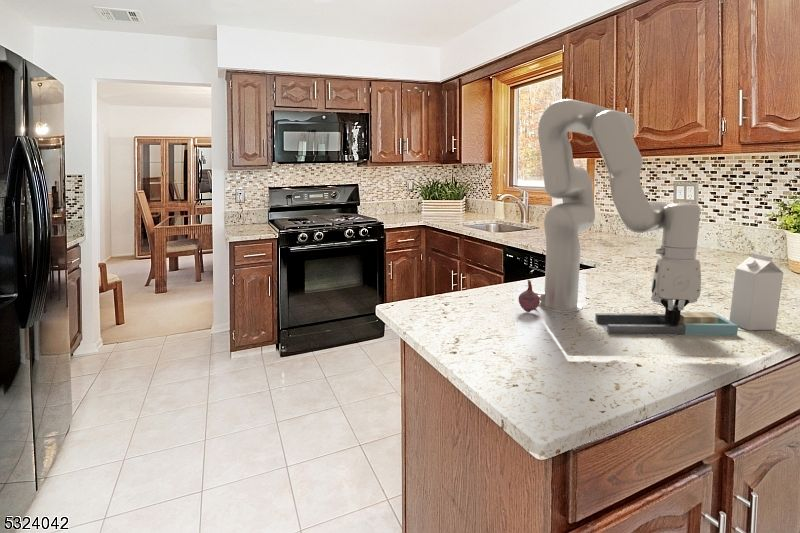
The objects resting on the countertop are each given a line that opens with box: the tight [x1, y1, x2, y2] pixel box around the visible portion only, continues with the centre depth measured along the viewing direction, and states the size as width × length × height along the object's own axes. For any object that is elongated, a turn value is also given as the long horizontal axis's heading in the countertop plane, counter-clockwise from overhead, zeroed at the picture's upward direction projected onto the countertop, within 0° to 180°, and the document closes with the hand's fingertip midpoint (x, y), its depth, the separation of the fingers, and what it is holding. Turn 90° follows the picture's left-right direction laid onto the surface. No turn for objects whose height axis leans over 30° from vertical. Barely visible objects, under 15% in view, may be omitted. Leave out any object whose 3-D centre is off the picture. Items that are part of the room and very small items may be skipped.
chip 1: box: [678, 313, 701, 325], centre depth 122 cm, size 4×4×4 cm
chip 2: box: [693, 311, 718, 324], centre depth 122 cm, size 4×4×4 cm
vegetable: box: [518, 279, 541, 313], centre depth 140 cm, size 6×6×10 cm
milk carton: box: [728, 252, 784, 331], centre depth 124 cm, size 7×7×19 cm
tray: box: [680, 311, 739, 336], centre depth 122 cm, size 12×11×4 cm
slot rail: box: [594, 312, 686, 336], centre depth 123 cm, size 18×11×3 cm, turn 85°
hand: (671, 324), depth 122 cm, fingers closed
